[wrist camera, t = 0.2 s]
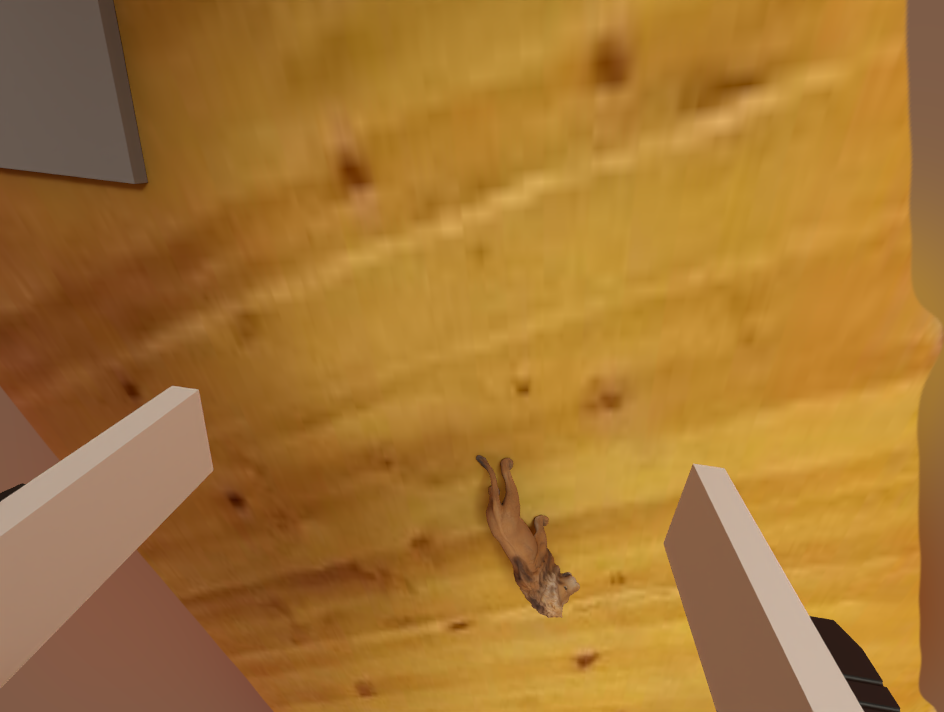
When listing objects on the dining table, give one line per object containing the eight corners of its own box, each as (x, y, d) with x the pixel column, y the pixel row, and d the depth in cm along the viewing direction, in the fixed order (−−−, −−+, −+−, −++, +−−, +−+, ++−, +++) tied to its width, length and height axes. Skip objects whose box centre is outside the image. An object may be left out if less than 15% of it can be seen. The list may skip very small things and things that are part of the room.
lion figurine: (579, 538, 49) (588, 616, 41) (537, 556, 51) (538, 635, 43) (498, 440, 45) (490, 506, 37) (455, 464, 47) (439, 531, 39)
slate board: (-72, -44, 34) (-96, -51, 33) (107, -28, 33) (90, -35, 32) (-6, 163, 40) (-24, 164, 39) (147, 182, 39) (134, 183, 38)
